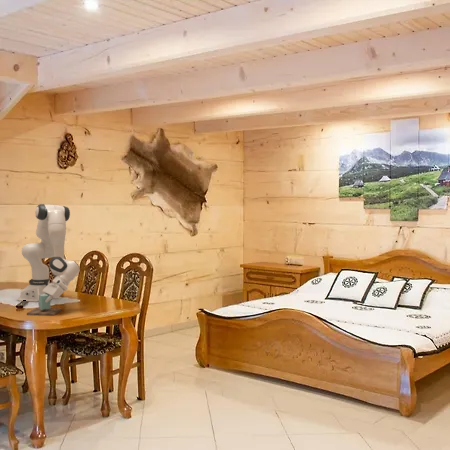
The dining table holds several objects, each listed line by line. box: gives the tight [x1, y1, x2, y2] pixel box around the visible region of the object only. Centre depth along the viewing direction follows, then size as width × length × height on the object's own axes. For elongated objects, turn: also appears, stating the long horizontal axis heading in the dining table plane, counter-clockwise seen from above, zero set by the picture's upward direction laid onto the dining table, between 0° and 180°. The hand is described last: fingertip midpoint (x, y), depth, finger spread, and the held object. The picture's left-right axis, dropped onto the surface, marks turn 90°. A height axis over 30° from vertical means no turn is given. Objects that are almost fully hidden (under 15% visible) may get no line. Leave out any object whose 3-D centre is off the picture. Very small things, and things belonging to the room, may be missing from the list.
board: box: [26, 307, 63, 317], centre depth 366 cm, size 16×16×6 cm
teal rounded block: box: [38, 294, 51, 310], centre depth 366 cm, size 5×6×8 cm
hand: (43, 300), depth 365 cm, fingers closed on teal rounded block, 6 cm apart
